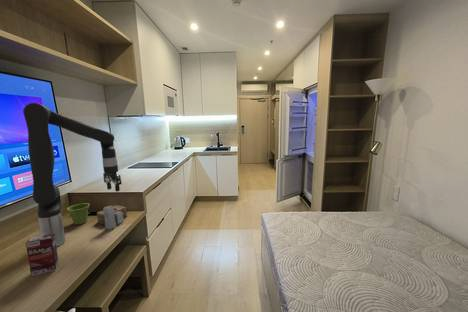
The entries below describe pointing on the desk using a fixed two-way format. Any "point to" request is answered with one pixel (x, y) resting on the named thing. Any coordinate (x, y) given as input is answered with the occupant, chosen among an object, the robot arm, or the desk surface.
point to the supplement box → (42, 254)
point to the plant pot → (79, 213)
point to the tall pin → (109, 217)
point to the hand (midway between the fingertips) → (113, 190)
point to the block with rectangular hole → (116, 208)
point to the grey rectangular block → (118, 217)
